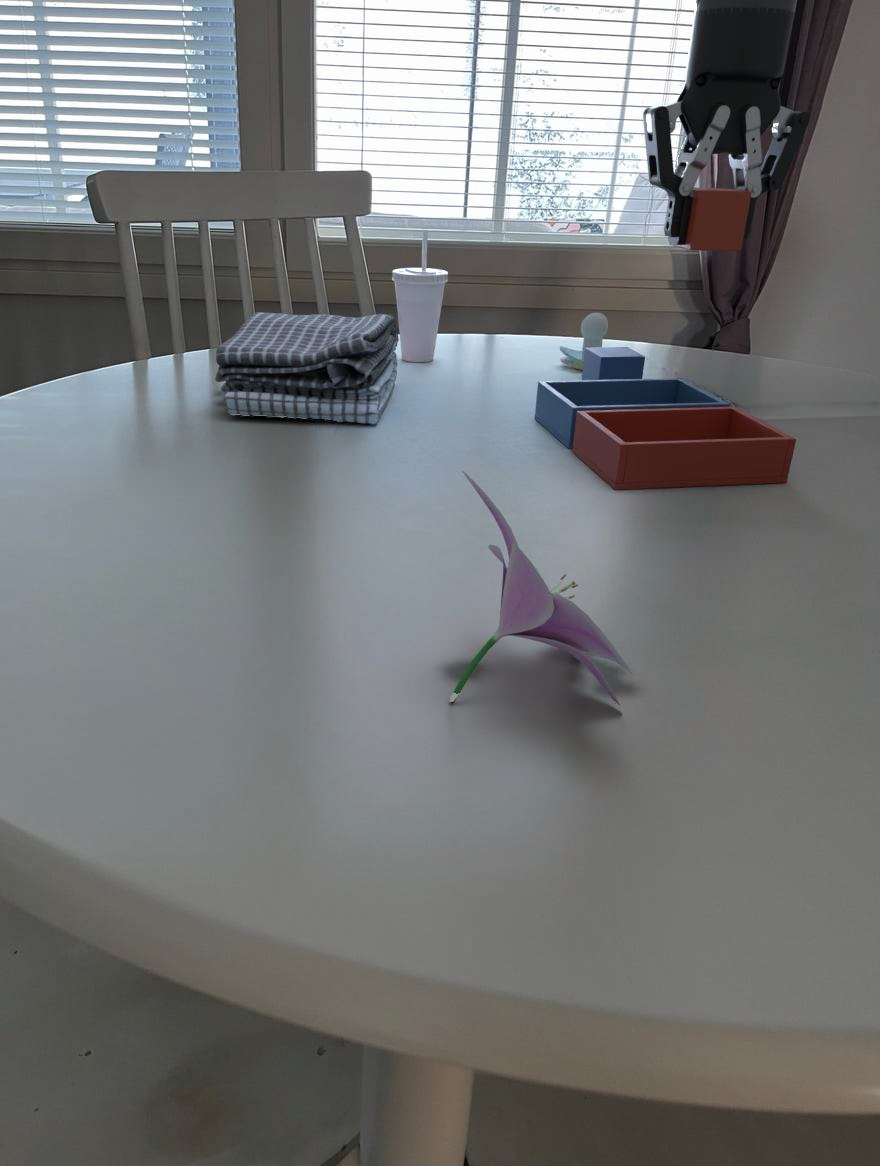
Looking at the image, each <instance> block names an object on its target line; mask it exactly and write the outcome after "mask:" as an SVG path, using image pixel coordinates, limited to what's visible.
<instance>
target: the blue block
mask: <svg viewBox="0 0 880 1166" xmlns="http://www.w3.org/2000/svg"><path fill="white" fill-rule="evenodd" d="M645 361H646V356H645V355H643V354H641V353H640V352H638V351H636V350H634V349H633V348H630V347H628V346H608V347H607V346H602V347H595V348H585V353H584V362H583V370H581V380H622V379H643V376H644V369H645V363H646V362H645Z"/></svg>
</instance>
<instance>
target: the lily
mask: <svg viewBox="0 0 880 1166" xmlns="http://www.w3.org/2000/svg"><path fill="white" fill-rule="evenodd" d="M462 473H463V475H464V476H465V478H466V480H467V481H468V482H469V483H470V485H471V486H472V487H473V489H474V490H475V492H476V493H477V494H478V496H479V497H480V498H481V501H482V502H483V503H484V504H485V506H486V507H487V509H488V511H489V512H490V513H491V515H492V517H493V518H494V520H495V522H496V524H497V526H498V528H499V530H500V533H501V534H502V537H503V540H504V543H505V547H506V552H507V556H508V565H506V562H505V557H504V554H503V552H502V549H500V548H499V546H497V545H495V544H488V546H487V547H488V550H489V551H490V552H491V553H492V554H493V555H494V556H495V557H496V558H497V560H498V561H500V563H501V564H502V583H501V584H502V585H501V596H500V597H501V598H500V600H501V601H500V611H499V612H500V613H499V622H498V626H497V629H496V631H495V632H494V634H493V635H492V636H491V637H490V638H489V639H488V640H487V641H486V642H485V644H484V645H483V646H482V648H481V649H480V650H479V651H478V653H477V654H476V655H475V656H474V657H473V659H472V660H471V662H470V663H469V665H468V666H467V668H466V670H465V671H464V672H463V675H461V677H460V679H459V681H458V683H457V685H456V686H455V687H454V689H453V690H452V693H453V692H454V693H456V694H458V693H460V694H461V692H462V690H463V688H464V687H465V685H466V683H467V681H468V680H469V679H470V677H471V675H472V674H473V672H474V671H475V669H476V667H477V666H478V664H479V663H480V661H481V660H482V659H483V658H484V657H485V656H486V654H487V653H488V651H490V650H491V648H492V647H493V646H494V645H495V644H496V643H497V642H498V641H500V640H502V638H504V637H517V638H522V639H526V640H531V641H535V642H538V643H542V644H545V645H547V646H548V645H549V646H552V647H555V648H557V649H560V650H561V651H563V652H565V653H567V654H569V655H571V657H574V658H575V659H576V660H578V661H579V662H580V663H582V664H583V666H584V667H585V668H587V670H588V671H589V672H590V673H591V674H592V675H593V676H594V677H595V679H596V680H597V681H598V682H599V684H600V685H601V687H603V689H604V690H605V691H606V693H607V694H608V695H609V696H610V698H611V699H612V701H613V702H614V701H615V702H616V703H617V704H618V705H620V706H621V704H620V702H619V699H618V698H617V696H616V694H615V693H614V690H613V689H612V687H611V685H610V683H609V682H608V681H607V679H606V678H605V675H604V674H603V673H602V672H601V671H600V669H599V667H598V666H597V665H596V664H595V663H594V662H593V660H591V658H589V657H588V655H592V656H594V657H598V658H603V659H606V660H610V661H612V662H615V663H616V664H618V665H619V666H621V667H623V668H624V669H625V670H626V671H628V672H629V673H630V674H632V670H631V669H630V667H629V666H628V664H627V663H626V661H625V660H624V658H623V657H622V655H621V654H620V653H619V651H618V650H617V648H616V647H615V646H614V645H613V644H612V642H611V640H610V639H609V638H608V637H607V635H606V634H605V633H604V632H603V631H602V630H601V628H600V627H599V626H598V625H597V624H596V623H595V622H594V620H592V618H591V617H590V616H589V614H587V613H586V612H585V611H583V610H582V609H581V608H580V607H579V606H578V605H577V604H576V603H575V602H573V601H572V600H570V599H574V598H575V597H576V595H575V594H574V595H567V596H562V595H561V593H562V592H566V591H567V590H568V589H570V588H572V589H575V588H577V587H579V584H576V581H575V580H573V581H571V582H570V583H569V584H567V585H565V586H564V587H562V588H560V589H558V590H557V591H554V590H555V589H556V588H557V587H559V586H560V584H561V583H562V582H563V581H565V577H566V576H567V574H564V575H563V576H561V578H560V581H559V582H558V583H557V584H556V585H555V586H554V587H553V588H551V589H550V588H549V587H548V585H547V583H546V582H545V581H544V579H543V577H542V575H541V574H540V572H539V571H538V570H537V568H536V567H535V565H534V564H533V562H532V561H531V560H530V559H529V557H528V556H527V555H526V553H524V551H523V550H522V549H521V548H520V547H519V544H518V542H517V539H516V537H515V534H514V532H513V529H512V528H511V526H510V525H509V523H508V521H507V520H506V517H504V514H503V513H502V512H501V510H500V509H499V508H498V507H497V505H496V504H495V503H494V502H493V501H492V499H491V498H490V497H489V495H487V493H486V492H485V491H484V490H483V489H482V487H480V486H479V485H478V484H477V482H475V481H474V479H473V478H471V477H470V476H469V475H468V474H467V472H465V471H462ZM553 591H554V592H553ZM586 654H588V655H586ZM615 702H614V703H615ZM616 703H615V704H616Z"/></svg>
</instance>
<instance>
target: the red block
mask: <svg viewBox="0 0 880 1166" xmlns="http://www.w3.org/2000/svg"><path fill="white" fill-rule="evenodd" d="M751 193H752V192H751V191H744V190H735V188H734V189H733V188H723V187H694V188H693V191H692V192H691V194H690V195H689V197H692V198H693V200H692V207H691V213H690V219H689V225H688V232H687V238H686V242H685V244H684V245H674V244H671V243H669V242H668V245H669V246H673V247H677V248H681V249H685V250H689V251H705V252H706V251H707V252H709V251H710V252H711V251H713V252H714V251H715V252H741V250H742V247H743V243H744V239H743V236H744V231H745V226H746V220H747V215H748V210H749V204H750V199H751ZM742 242H743V243H742Z"/></svg>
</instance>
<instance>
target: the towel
mask: <svg viewBox="0 0 880 1166" xmlns="http://www.w3.org/2000/svg"><path fill="white" fill-rule="evenodd" d="M399 342H400V337H399V326H397V322H396V318H395V317H394V315H392V314H385V313H376V314H369V315H366V316H359V317H353V316H352V317H351V316H342V315H335V314H334V315H333V314H326V313H323V314H308V315H307V314H291V313H289V314H287V313H281V312H278V313H274V312H270V311H269V312H268V311H267V312H261V311H260V312H259V311H256V312H255V313H253V314H251V315H250V316H249V317H248V318H247V319H246V320H245V321H244V322H243V323H242V324H241V326H240V327H239V328H238V330H237V331H236V333H234V334H233V335H232V336H231V337H230V338H228V339H227V340H226V341H224V342H222V343H221V344H219V345H218V347H217V348H216V350H215V362H216V364H217V365H218V368H217V372H216V374H215V378H214V380H215V382H216V383H222V382H224V383H223V384H222V385H221V387H220V390H221V391H222V392H223V393H224V401H225V403H226V408H227V409H226V410H227V414H228V413H229V414H240V415H267V416H287V417H300V418H313V419H325V420H324V421H326V420H333V421H332V422H334V421H337V422H336V423H342V422H344V423H345V422H346V421H347V422H346V423H357V424H369V425H376V424H378V423H379V420H380V417H381V415H382V413H383V411H384V410H385V408H386V406H387V405H388V402H389V400H390V397H391V396H392V392H393V390H394V388H395V384H396V380H397V374H398V369H397V368H398V360H397V353H396V350H397V347H398V344H399ZM229 414H228V415H229ZM313 419H312V420H313Z"/></svg>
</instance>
